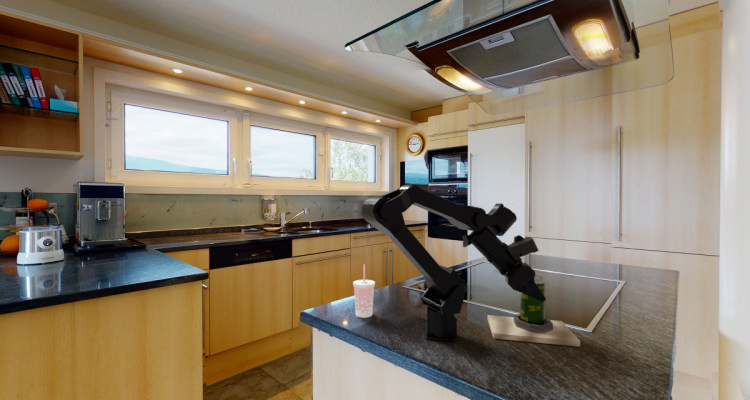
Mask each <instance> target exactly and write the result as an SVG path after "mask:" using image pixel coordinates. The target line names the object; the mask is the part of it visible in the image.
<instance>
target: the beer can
mask: <svg viewBox="0 0 750 400" xmlns="http://www.w3.org/2000/svg"><path fill="white" fill-rule="evenodd" d="M544 279H545V278H544V276H541V275H538V274H535V278H534V281H535V283H536V284H537V286H538V287H539V289H540V290H541V292H542V293H543V295H544V296H545V297H546V294H545V292H546V282H545V280H544ZM519 293H520V295H519V296H520V300H519V301H520V303H519V304H520V308H519V309H520V310H519V314H520V321H523V322H526V323H529V324H536V325H544V324H545V316H546V314H545V312H546V311H545V310H546V309H545V305H546V304H545V303H546V302H545V301H546V300H545V301H544V302H541V301H539V300H537V299H535V298H532V297H530V296H528V295H526V294H523V293H521V292H519Z"/></svg>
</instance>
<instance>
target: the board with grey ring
mask: <svg viewBox="0 0 750 400" xmlns="http://www.w3.org/2000/svg"><path fill="white" fill-rule="evenodd" d="M487 322H488V326H489V328H490V331H491V335H492V338H493V339H495V340H505V341H507V340H508V341H517V342H518V341H519V342H529V343H537V344H538V343H540V344H548V345H549V344H550V345H559V346H560V345H561V346H572V347H581V340H580V339H579V338H578V337H577V336H576V335H575V334H574V332H572V331H571V329H570V328H569V327H568V326H566V324H565V323H564V322H563V321H562V320H555V319H554V320H552V319H550V318H548V317H545V324H544V325H536V324H529V323H526V322H523V321H520V313H518V314H515V315H513V316H504V315H493V314H492V315H491V314H490V315H489V314H487Z"/></svg>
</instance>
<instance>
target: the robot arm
mask: <svg viewBox="0 0 750 400" xmlns="http://www.w3.org/2000/svg"><path fill="white" fill-rule="evenodd" d="M412 205H413V206H415V207H418V208H420V209H423V210H426V211H428V212H430V213H434V214H435V215H438V216H441V217H442V218H444V219H446V220H447V221H448V222H449V223H450V224H451V225H453V226H454V227H456V228H457V229H459V230H464V231H465V230H466V231H471V232H470V234H465V235H463V236H462V247H463V248H466V247H469V246H471V245H472V246H473V247H474V248H475V249H476V250H477V251H478V252H479V253H480V254H481V255H482V256H483V257H484V258H485V259H486V260H487V262H489V263H490V264H491V265H492V266H493V267H494V268H495V269H496V270H497V271H498V272H499V274H500V275H501V276H504V279H505V282H506V283H507V285H508V286H509V287H510V288H511V290H513V291H515V292H519V293H523V294H526V295H528V296H530V297H532V298H535V299H537V300H539V301H541V302H544V301H546V300H547V298H546V295H545V296H544V295H543V293H542V292H541V290H540V289H539V287H538V286H537V284H536V283H535V281H534V278H535V275H536V271H535V270H534V269H533V268H532V266H530V265H529V264H528V263H526V262H523V261H522V260H523V259H522V257H524V256H528V255H531V254H532V253H533V254H534V253H537V252H538V251H539V247H538V246H537V244H536V241H535V240H534V238H533V237H531V236H526V237H523V236H522V235H520V234H518V235H516V236H513V242H511V243H510V244H508V243H506V242H503V241H502V240H501V239H500V238H499V237H503V236H504V235H505V234H506V233H507V232H508V231H509V229H510V228H511V227H512V226H513V225H514V224H515V223H516V221H517V219H518V218H517V215H516V213H515V212H513V210H511V209H510V208H508V207H506V206H504V203H495V205H493V207H492V208H491V210H489V212H488V213H487V211H486V210H485V209H484V208H483V207H479V206H473V205H466V204H460V203H457V202H454V201H452V200H449V199H448V198H444V197H442V196H440V195H438V194H435V193H433V192H431V191H428V190H426V189H424V188H421V187H420V186H419V185H417V184H404V185H402V186H401V187H398V188H397V189H395V190H393V191H390V192H387V193H385V194H382V195H380V196H379V197H370V198H367V199H366V200H365V201H364V202H363V204H362V207H361V216H362V218H363V220H364V221H366V222H367V223H368V224H370V226H372V227H374V228H375V229H376V230H378V231H380V232H381V233H382V234H384V235H386V236H387V237H388V238H389V239H390V240H391V241H392V242H393V243H394V245H396V247H397V248H398V249H399V250H400V251H401V252H402V253H403V255H404V256H405V257H406V258H407V259H408V260H409V261H410V262H411V264H412V265H413V266H414V267H415V268H416V270H418V271H419V272H420V274H421V275H422V276H423V278H424V282H425V285H426V287H427V288H426V290H425V291H424V292H423V293H422V295H421V296H420V300H421V304H422V305H423V306H425V307H427V308H426V333H425V339H427V340H435V341H445V342H446V341H447V342H455V341H456V339H455V338H456V336H458V335H457V334H458V315H457V314H461V311H462V307H463V304H464V299H465V296H466V290H467V288H466V286H465V284H464V282H465V280H464V279H463V278H461V277H460V275H459V274H458V272H457V270H455V268H452V267H447V266H444V265H442V264H439V263H438V262H437V261H436V259H434V257H433V256H432V255H431V254H430V253H429V252H428V250H427V249H426V248H425V247H424V246H423V244H422V243H421V241H419V240H418V239H417V237H416V236H415V235H414V234H413V232H412V231H411V230H410V228H409V227H407V225H406V221H405V218H404V214H403V213H405V212H406V211H408V210H409V209H410V208H411V207H412Z"/></svg>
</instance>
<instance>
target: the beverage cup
mask: <svg viewBox="0 0 750 400" xmlns="http://www.w3.org/2000/svg"><path fill="white" fill-rule="evenodd" d="M362 266H363V267H362V268H363V269H362V270H363V271H362V272H363V278H362V279H357V280H354V281H353V282H352V285H353V289H354V290H353V291H354V307H355V316H356V317H358V318H364V319H365V318H370V317H372V316H373V306H374V294H375V293H374V292H375V286H376V281H374V280H372V279H366V263H363V265H362Z"/></svg>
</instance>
